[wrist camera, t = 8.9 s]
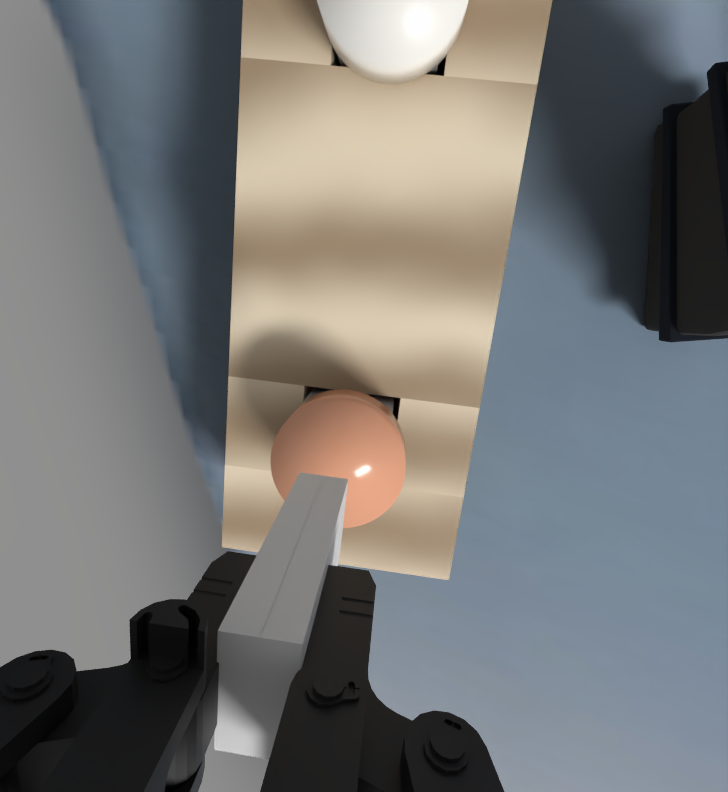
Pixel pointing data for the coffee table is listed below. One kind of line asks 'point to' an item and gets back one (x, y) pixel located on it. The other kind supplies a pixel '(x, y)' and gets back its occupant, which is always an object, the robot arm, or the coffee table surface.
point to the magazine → (691, 218)
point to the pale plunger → (392, 35)
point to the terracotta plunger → (344, 449)
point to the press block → (372, 256)
